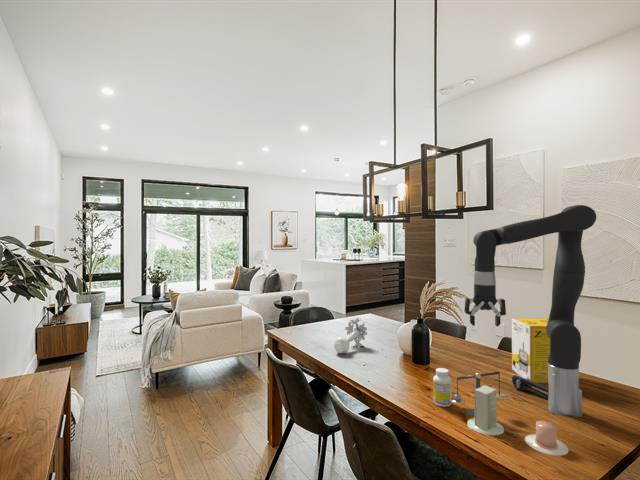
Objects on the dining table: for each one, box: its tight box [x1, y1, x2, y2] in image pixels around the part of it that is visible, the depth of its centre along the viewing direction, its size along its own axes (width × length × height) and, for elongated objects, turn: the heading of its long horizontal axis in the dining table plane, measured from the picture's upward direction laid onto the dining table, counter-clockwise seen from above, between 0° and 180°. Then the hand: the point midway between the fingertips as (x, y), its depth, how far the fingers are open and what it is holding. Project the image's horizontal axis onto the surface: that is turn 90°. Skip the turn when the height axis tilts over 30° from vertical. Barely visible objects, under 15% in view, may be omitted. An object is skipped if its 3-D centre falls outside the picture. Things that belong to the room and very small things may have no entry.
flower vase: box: [333, 317, 368, 354], centre depth 202 cm, size 13×18×25 cm
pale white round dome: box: [466, 417, 505, 436], centre depth 116 cm, size 11×11×1 cm
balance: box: [450, 371, 508, 417], centre depth 125 cm, size 19×5×16 cm, turn 80°
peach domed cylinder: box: [535, 420, 558, 450], centre depth 105 cm, size 6×6×6 cm
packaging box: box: [511, 317, 550, 384], centre depth 161 cm, size 16×16×25 cm
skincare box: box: [474, 384, 498, 431], centre depth 116 cm, size 6×4×12 cm
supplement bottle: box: [432, 367, 453, 408], centre depth 135 cm, size 7×7×13 cm
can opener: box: [511, 374, 548, 401], centre depth 143 cm, size 18×7×6 cm, turn 28°
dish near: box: [524, 433, 569, 457], centre depth 105 cm, size 11×11×1 cm
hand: (484, 325), depth 134 cm, fingers open, 8 cm apart
